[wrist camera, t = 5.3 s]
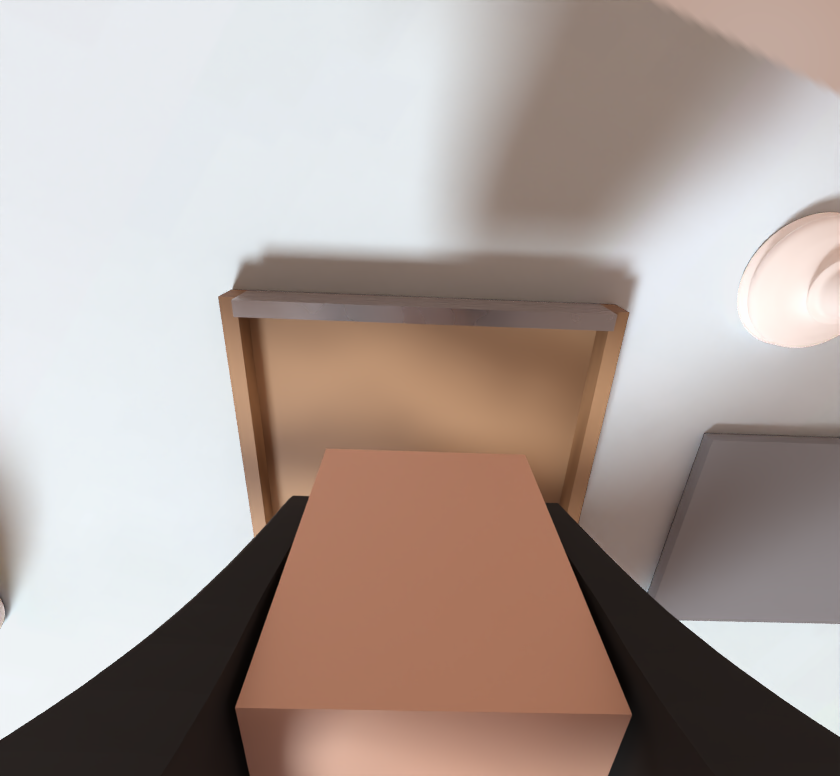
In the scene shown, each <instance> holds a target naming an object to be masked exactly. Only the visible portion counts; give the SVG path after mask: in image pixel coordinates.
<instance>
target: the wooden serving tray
mask: <svg viewBox="0 0 840 776" xmlns="http://www.w3.org/2000/svg"><path fill="white" fill-rule="evenodd" d="M218 299H219V305H220V312H221V319H222V325H223V332H224V339H225V345H226V352H227V359H228V365H229V372H230V379H231V385H232V392H233V399H234V405H235V412H236V419H237V425H238V432H239V439H240V445H241V452H242V459H243V465H244V472H245V479H246V486H247V492H248V499H249V506H250V512H251V519H252V526H253V532H254V537H255V536H256V535H257V534H258V533H259V532H260V531H261V530H262V529H263V527H264V526H265V525H266V524H267V523H268V522H269V521H270V520H271V519H272V517H273V516H274V515H275V514H276V513H277V512H278V511H279V509H280V508H281V507H282V506H283V505H284V504H285V503H286V501H287V500H288V499H289V498H290V497H292V496H310V493H311V490H312V488H313V485H314V482H315V479H316V476H317V473H318V470H319V468H320V465H321V462H322V459H323V456H324V453H325V451H326V448H327V449H359V450H392V451H424V452H456V453H489V454H521V455H525V456H526V458H527V460H528V463H529V465H530V468H531V470H532V473H533V475H534V477H535V480H536V482H537V485H538V487H539V490H540V492H541V494H542V497H543V499H544V502H545V503H558V504H559V505H560V506H561V507H562V508H563V509H564V510H565V511H566V512H567V513H568V514H569V515H570V516H571V517H572V518H573V519H574V520H575V521H576V522H577V523H578V522H579V518H580V514H581V510H582V506H583V502H584V498H585V493H586V489H587V485H588V481H589V477H590V473H591V469H592V464H593V460H594V456H595V452H596V448H597V444H598V440H599V436H600V431H601V427H602V423H603V419H604V415H605V411H606V407H607V403H608V398H609V394H610V390H611V386H612V382H613V378H614V374H615V370H616V365H617V361H618V357H619V353H620V349H621V345H622V341H623V336H624V332H625V328H626V324H627V320H628V316H629V312H627V311H626V310H624V309H622V308H620V307H619V306H617V305H613V304H587V303H561V302H536V301H510V300H485V299H459V298H434V297H408V296H382V295H357V294H331V293H306V292H280V291H255V290H230V291H228V292H226V293H224V294H222V295H220V296H218Z"/></svg>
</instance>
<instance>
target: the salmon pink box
mask: <svg viewBox="0 0 840 776" xmlns="http://www.w3.org/2000/svg"><path fill="white" fill-rule="evenodd" d="M235 710H236V715H237V719H238V724H239V728H240V733H241V737H242V742H243V747H244V751H245V756H246V760H247V765H248V769H249V774H250V776H608V774H609V772H610V769H611V767H612V764H613V762H614V759H615V757H616V754H617V751H618V749H619V746H620V744H621V741H622V739H623V736H624V734H625V731H626V729H627V726H628V724H629V721H630V719H631V716H632V713H631V710H630V708H629V706H628V703H627V701H626V698H625V696H624V693H623V691H622V689H621V686H620V684H619V681H618V679H617V676H616V674H615V672H614V669H613V667H612V664H611V662H610V659H609V657H608V655H607V652H606V650H605V647H604V645H603V642H602V640H601V638H600V635H599V633H598V630H597V628H596V626H595V623H594V621H593V618H592V616H591V613H590V611H589V609H588V606H587V604H586V601H585V599H584V596H583V594H582V592H581V589H580V587H579V584H578V582H577V579H576V577H575V575H574V572H573V570H572V567H571V565H570V562H569V560H568V558H567V555H566V553H565V550H564V548H563V545H562V543H561V541H560V538H559V536H558V533H557V531H556V528H555V526H554V524H553V521H552V519H551V516H550V514H549V511H548V509H547V507H546V504H545V502H544V499H543V497H542V494H541V492H540V490H539V487H538V485H537V482H536V480H535V477H534V475H533V473H532V470H531V468H530V465H529V463H528V460H527V458H526V456H525V455H521V454H489V453H456V452H424V451H392V450H359V449H327V448H326V451H325V453H324V456H323V459H322V462H321V465H320V468H319V470H318V473H317V476H316V479H315V482H314V485H313V488H312V490H311V493H310V496H309V499H308V502H307V505H306V507H305V510H304V513H303V516H302V519H301V522H300V524H299V527H298V530H297V533H296V536H295V539H294V542H293V544H292V547H291V550H290V553H289V556H288V559H287V561H286V564H285V567H284V570H283V573H282V576H281V578H280V581H279V584H278V587H277V590H276V593H275V596H274V598H273V601H272V604H271V607H270V610H269V613H268V615H267V618H266V621H265V624H264V627H263V630H262V632H261V635H260V638H259V641H258V644H257V647H256V650H255V652H254V655H253V658H252V661H251V664H250V667H249V669H248V672H247V675H246V678H245V681H244V684H243V686H242V689H241V692H240V695H239V698H238V701H237V704H236V706H235Z"/></svg>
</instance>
